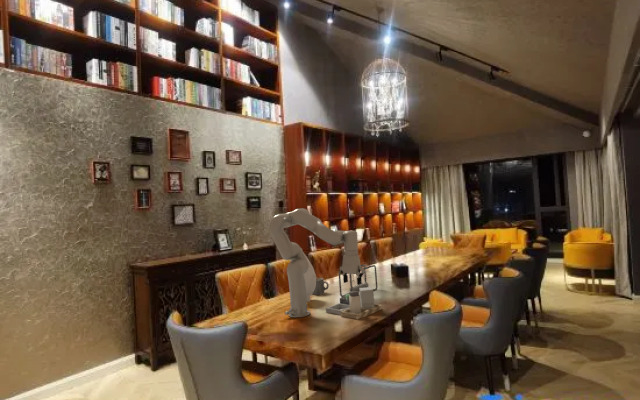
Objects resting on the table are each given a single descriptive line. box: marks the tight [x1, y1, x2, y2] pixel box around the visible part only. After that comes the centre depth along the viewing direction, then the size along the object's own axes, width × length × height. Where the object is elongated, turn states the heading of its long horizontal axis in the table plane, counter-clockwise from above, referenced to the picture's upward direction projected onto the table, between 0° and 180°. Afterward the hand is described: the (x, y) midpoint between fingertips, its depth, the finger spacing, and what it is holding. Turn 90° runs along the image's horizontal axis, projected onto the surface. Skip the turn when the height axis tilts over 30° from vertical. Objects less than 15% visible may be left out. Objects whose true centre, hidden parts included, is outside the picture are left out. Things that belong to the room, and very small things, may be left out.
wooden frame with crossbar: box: [340, 303, 383, 320], centre depth 230 cm, size 23×12×2 cm, turn 137°
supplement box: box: [359, 286, 375, 309], centre depth 234 cm, size 7×7×13 cm
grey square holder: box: [339, 296, 350, 305], centre depth 247 cm, size 8×8×5 cm
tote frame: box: [325, 302, 350, 316], centre depth 236 cm, size 12×12×2 cm
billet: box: [349, 290, 361, 314], centre depth 226 cm, size 6×6×13 cm
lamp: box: [304, 253, 317, 302], centre depth 269 cm, size 16×16×35 cm
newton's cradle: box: [338, 263, 378, 298], centre depth 278 cm, size 30×10×18 cm, turn 138°
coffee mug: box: [311, 277, 330, 296], centre depth 288 cm, size 13×10×10 cm
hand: (352, 283), depth 226 cm, fingers open, 9 cm apart
